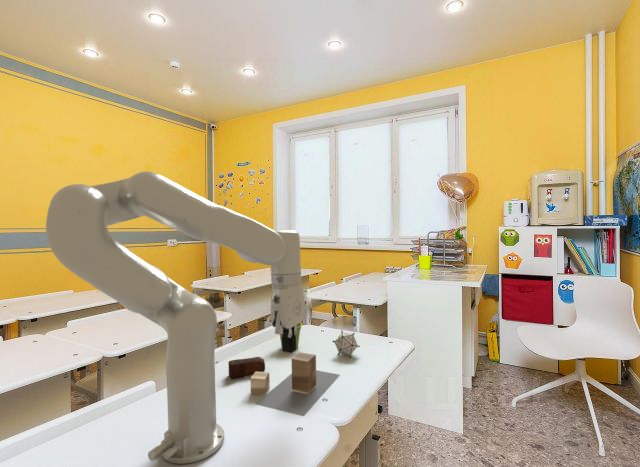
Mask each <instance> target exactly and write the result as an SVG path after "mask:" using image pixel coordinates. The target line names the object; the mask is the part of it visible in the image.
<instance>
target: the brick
mask: <svg viewBox="0 0 640 467" xmlns="http://www.w3.org/2000/svg"><path fill="white" fill-rule="evenodd" d="M227 364H228V376H229V379H230V380H236V379H237V380H238V379H243V378H245V377H249V376H253V374H254V373H255V372H266V371H265V370H266V363H265V359H264V358H262V357H260V356H253V357H247V358H239V359H231V360H229V361H228V363H227Z"/></svg>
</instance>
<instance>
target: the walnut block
mask: <svg viewBox="0 0 640 467" xmlns="http://www.w3.org/2000/svg"><path fill="white" fill-rule="evenodd" d="M316 370H317V355H316V354H314V353H313V354H312V353H307V352H298V353H296V355H294V356H293V357H292V358H291V374H292V391H294V392H299V393H303V394H308V395H309V394H310V393H311V392H312V390H313V389H314V388H315V387H316Z"/></svg>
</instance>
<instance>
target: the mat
mask: <svg viewBox="0 0 640 467" xmlns="http://www.w3.org/2000/svg"><path fill="white" fill-rule="evenodd" d="M340 376H341V374H339V373H334V372H333V373H332V372H328V371H322V370H317V369H316V387H315V388H314V389H313V390H312V392H311V393H310V394H309V395H308V394H303V393H299V392H294V391H292V373H291V374H289V375H288V376H287V377H285V379H283V380H282V381H281V382H280V383H279V384H278V385H276V386H275V387H273V388H272V389H271V390H269V391H268V392H267V393H266V395H265V396H263V397H262V398H260V399H259V400H258V401H257V402H256V403H255V405H257V406H261V407H266V408H270V409H273V410H274V409H275V410H278V411H283V412H286V413H290V414H294V415H298V416H302V417H304V416H306V414H307V413H308V412H309V411H310V410H311V409H312V408H313V407H314V405H315V404H316V403H317V402H318V401H319V400H320V399H321V398H322V396H323V395H324V394H325V393H326V392H327V390H328V389H329V388H330V387H331V386H332V385H333V384H334V383H335V381H336V380H337V379H338V378H339V377H340Z"/></svg>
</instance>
